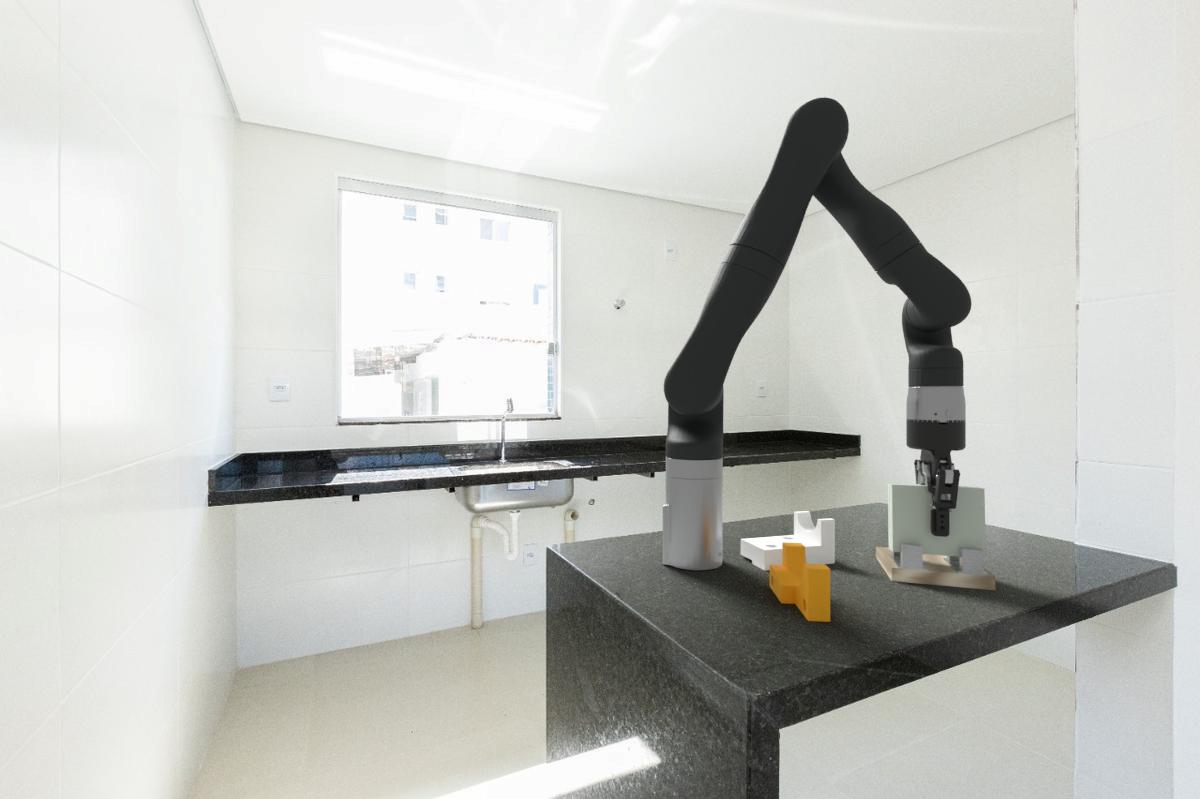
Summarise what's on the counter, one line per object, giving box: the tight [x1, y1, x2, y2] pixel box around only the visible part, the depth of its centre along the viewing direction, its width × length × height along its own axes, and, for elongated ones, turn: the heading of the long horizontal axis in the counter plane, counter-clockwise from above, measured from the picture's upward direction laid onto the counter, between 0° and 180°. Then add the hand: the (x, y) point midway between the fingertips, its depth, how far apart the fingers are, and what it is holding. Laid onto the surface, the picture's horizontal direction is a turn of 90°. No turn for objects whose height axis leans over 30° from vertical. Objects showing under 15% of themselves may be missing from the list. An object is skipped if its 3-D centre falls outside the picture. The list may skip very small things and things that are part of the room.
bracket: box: [740, 510, 836, 571], centre depth 89 cm, size 13×7×8 cm, turn 106°
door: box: [887, 482, 987, 560], centre depth 80 cm, size 12×4×10 cm, turn 73°
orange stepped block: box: [769, 542, 831, 623], centre depth 71 cm, size 12×4×6 cm, turn 176°
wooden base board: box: [875, 546, 996, 591], centre depth 83 cm, size 13×12×2 cm
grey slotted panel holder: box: [889, 543, 988, 576], centre depth 81 cm, size 11×7×4 cm, turn 73°
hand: (935, 531), depth 81 cm, fingers closed on door, 4 cm apart
